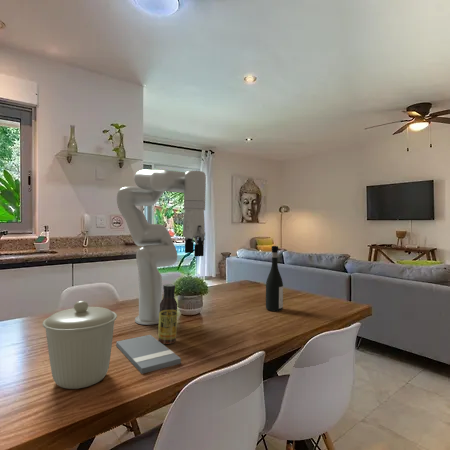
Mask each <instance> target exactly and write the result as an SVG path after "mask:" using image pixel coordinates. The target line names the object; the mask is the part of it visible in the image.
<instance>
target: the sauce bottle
mask: <svg viewBox="0 0 450 450" xmlns="http://www.w3.org/2000/svg"><path fill="white" fill-rule="evenodd" d="M175 289H176V284H174V283H165V284H162V290H163V295H162V301H161V303H160V311H159V323H158V335H157V337H158V339H157V340H158V341H159V342H160V343H162V344H163V345H170V344H175V342H176V340H177V332H178V331H177V327H178V302H177V300H176V299H175Z"/></svg>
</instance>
